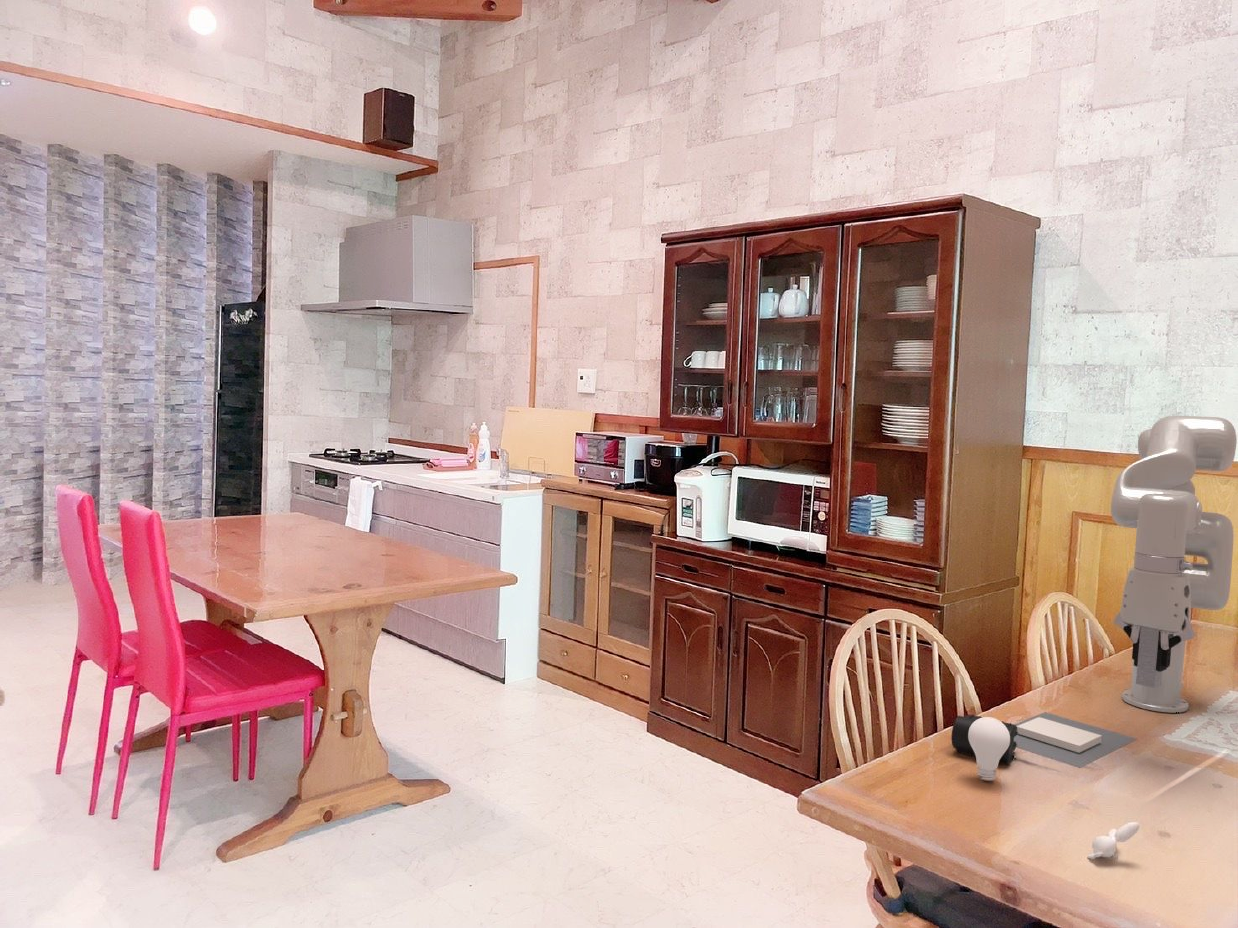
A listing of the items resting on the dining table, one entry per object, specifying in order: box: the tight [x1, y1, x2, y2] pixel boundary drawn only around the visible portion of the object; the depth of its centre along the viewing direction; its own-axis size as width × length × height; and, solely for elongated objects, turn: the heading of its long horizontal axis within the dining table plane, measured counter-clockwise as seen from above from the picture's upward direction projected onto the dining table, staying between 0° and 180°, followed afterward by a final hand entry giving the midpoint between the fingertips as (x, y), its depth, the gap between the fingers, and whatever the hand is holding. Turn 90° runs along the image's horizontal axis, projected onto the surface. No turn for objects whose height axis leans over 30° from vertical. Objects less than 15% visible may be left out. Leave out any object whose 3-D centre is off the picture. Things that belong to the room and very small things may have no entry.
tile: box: [1017, 717, 1102, 753], centre depth 179 cm, size 2×12×9 cm
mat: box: [1014, 711, 1138, 769], centre depth 180 cm, size 24×18×1 cm
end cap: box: [951, 713, 1018, 765], centre depth 172 cm, size 10×7×7 cm
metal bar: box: [1136, 627, 1162, 688], centre depth 166 cm, size 3×3×12 cm
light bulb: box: [968, 716, 1010, 783], centre depth 161 cm, size 7×7×11 cm
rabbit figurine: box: [1087, 821, 1140, 860], centre depth 135 cm, size 6×4×8 cm
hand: (1150, 666), depth 167 cm, fingers closed on metal bar, 3 cm apart
